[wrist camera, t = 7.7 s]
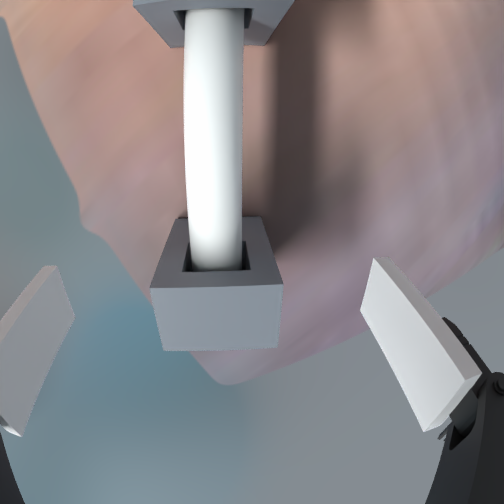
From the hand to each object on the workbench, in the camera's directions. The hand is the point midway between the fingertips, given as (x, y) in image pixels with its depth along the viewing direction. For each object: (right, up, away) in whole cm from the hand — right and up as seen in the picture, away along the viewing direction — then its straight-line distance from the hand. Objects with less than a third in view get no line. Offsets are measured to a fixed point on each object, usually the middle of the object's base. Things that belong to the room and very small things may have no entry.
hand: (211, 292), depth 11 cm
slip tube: (-1, +10, +10) cm, 14 cm away
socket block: (-2, +2, +21) cm, 21 cm away
